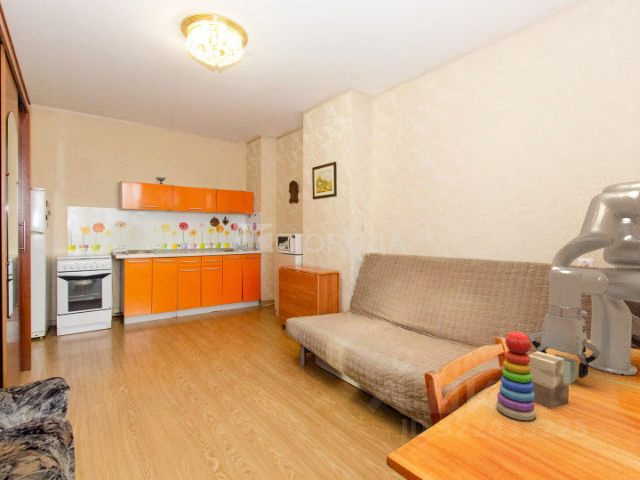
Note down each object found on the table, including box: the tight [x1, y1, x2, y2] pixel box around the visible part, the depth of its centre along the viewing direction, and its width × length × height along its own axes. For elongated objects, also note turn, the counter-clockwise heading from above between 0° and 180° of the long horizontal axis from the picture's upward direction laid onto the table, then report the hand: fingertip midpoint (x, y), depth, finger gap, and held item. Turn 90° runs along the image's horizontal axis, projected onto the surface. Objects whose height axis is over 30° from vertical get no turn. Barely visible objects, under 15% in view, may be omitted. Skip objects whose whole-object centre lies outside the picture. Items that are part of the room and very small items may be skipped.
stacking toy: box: [496, 331, 537, 421], centre depth 75 cm, size 8×8×19 cm
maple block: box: [528, 350, 564, 388], centre depth 82 cm, size 6×6×6 cm
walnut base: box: [531, 381, 570, 410], centre depth 82 cm, size 7×7×5 cm
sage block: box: [553, 353, 578, 385], centre depth 94 cm, size 5×5×6 cm
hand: (561, 370), depth 94 cm, fingers open, 9 cm apart
